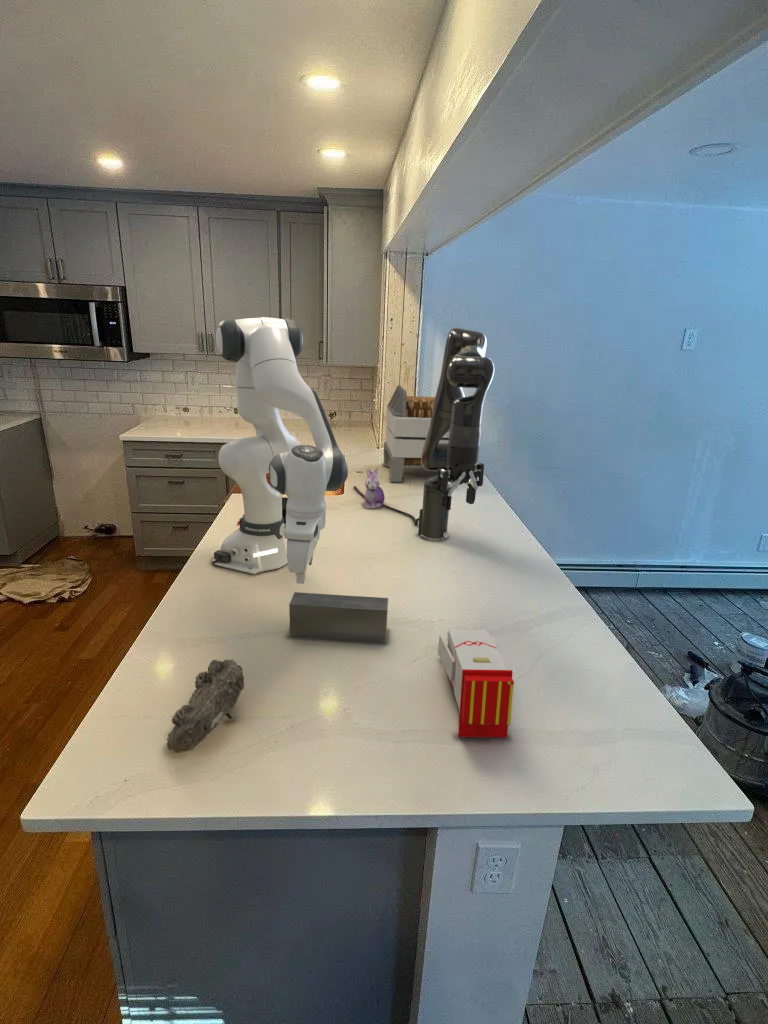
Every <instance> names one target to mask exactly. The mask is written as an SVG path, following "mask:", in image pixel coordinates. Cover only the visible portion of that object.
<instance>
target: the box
mask: <svg viewBox="0 0 768 1024" xmlns="http://www.w3.org/2000/svg"><path fill="white" fill-rule="evenodd" d="M288 607H289V609H288V610H289V615H288V616H289V637H290V638H301V639H314V640H315V639H317V640H329V641H330V640H331V641H346V642H347V641H348V642H362V643H378V644H386V642H387V631H388V615H389V614H388V613H389V612H388V611H389V597H376V596H361V595H345V594H331V593H329V594H328V593H313V592H298V591H294V593H293V595H292V596H291V599H290V602H289V605H288Z"/></svg>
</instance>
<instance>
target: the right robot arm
mask: <svg viewBox="0 0 768 1024" xmlns="http://www.w3.org/2000/svg"><path fill="white" fill-rule="evenodd" d="M486 351H487V337H486V335H485V333H483V332H481V331H477V330H472V329H468V328H467V329H466V328H461V327H453V328H451V329H450V330H449V331H448V334H447V336H446V341H445V344H444V352H443V358H442V365H441V371H440V378H439V381H438V385H437V388H436V389H437V390H436V393H435V396H434V397H435V400H434V405H433V410H432V416H431V421H430V426H429V430H428V433H427V436H426V439H425V443H424V446H423V449H422V454H421V465H422V466H421V467H422V468H423V470H424V471H428V472H429V471H430V472H437V474H435V475H434V476H431V477H429V478H427V479H425V480H424V482H423V493H422V496H423V497H422V506H421V508H420V509H419V516H418V518H416V517H415V516H414V515H412V514H410V513H408V512H405V511H402V510H400V509H398V508H395V507H392V506H389V505H386V504H382V506H381V507H384V508H387V509H388V510H392V511H395V512H397V513H399V514H402V515H405V516H407V517H408V518H409V517H410V518H411V519H412V520H413V523H414V525H415V526H418V530H417V535H418V536H420V538H421V539H424V540H426V541H432V542H440V541H444V540H446V539H447V538H448V533H449V531H448V525H449V517H450V516H449V514H450V510H451V509H452V498H453V496H452V495H453V493H454V491H455V490H457V489H458V487H459V486H460V485H463V484H465V485H466V486H467V488H466V496H465V503H467V504H469V505H474V504H475V501H476V496H477V495H476V494H477V490H478V488H479V487H482V486H483V485H484V472H485V464H484V463H482V462H479V458H480V446H481V439H482V438H481V437H482V428H481V427H482V426H481V425H482V417H483V408H484V404H485V400H486V396H487V393H488V391H489V388H490V387H491V384H492V381H493V378H494V375H495V364H494V362H493V361H492V359H491V358H489V357H487V356H486ZM466 388H467V389H476V390H475V391H474V392H473V394H471V395H467V396H466V395H465V392H464V389H466ZM448 432H449V441H448V443H439V441H440V440H441V439H442V437H443V436H445V435H446V434H447V433H448ZM452 482H453V483H452ZM353 488H354V489H355V491H356V492H357V493H358V494H359V495H360V496H361V497H362V498H364V499H365V494H364V493H362V492H361V491H360V490H359V488H358V487H357V485H354V486H353Z"/></svg>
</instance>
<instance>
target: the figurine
mask: <svg viewBox="0 0 768 1024" xmlns="http://www.w3.org/2000/svg"><path fill="white" fill-rule="evenodd" d="M366 474H367V475H366V476H367V478H366V479H365V483H364V485H365V488H366V489H365V491H364V495H365V498H364V502H363V506H364V507H365V509H378V508H381V507H383V506H382V504H384V503H385V493H384V490H383V489H382V488H381V486H380V481H379V479H378V474H379V468H377V467H376V468H375V469H374V471H373V472H372V471H371V469H369V468H367V469H366ZM384 505H385V504H384Z"/></svg>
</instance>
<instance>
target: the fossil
mask: <svg viewBox="0 0 768 1024" xmlns="http://www.w3.org/2000/svg"><path fill="white" fill-rule="evenodd" d="M243 670H244V669H243V667H242V665H240V664H237V662H236V661H235V660H234V659H232V658H231V659H227V658H226V659H224V660H223V661H222V660H217V659H212V660H211V661H210V663H209V665H208V666H207V671H201V672H199V673H198V674H197V675H196V676H195V680H194V684H195V685H194V687H195V689H194V690H193V693H192V694H191V697H190V698H189V700H188V704H184V705H182V706H181V707H180V709H177V710H176V711H175V713H174V715H173V716H172V718H171V723H172V724H173V727H172V730H171V731H170V732H168V734H167V738H166V741H167V742H166V745H167V749H168V750H169V751H173V752H174V753H176V754H178V753H182V752H188V751H189V752H192V751H193V750H195V748H196V747H197V746H199V744H200V743H201V742H203V741H204V740H205V739H206V738H207V737H208V736H209V735H210V734H211V733H212V732H214V730H215V729H217V727H218V726H219V724H220V722H221V721H222V720H223V719H224V718H225V716H226V717H227V719H229V720H233V717H232V715H230V714H229V710H230V709H231V708H234V706H235V704H236V703H237V702H238V699H239V697H240V695H241V693H242V691H243V690H245V689H244V688H245V675H244V671H243Z"/></svg>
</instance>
